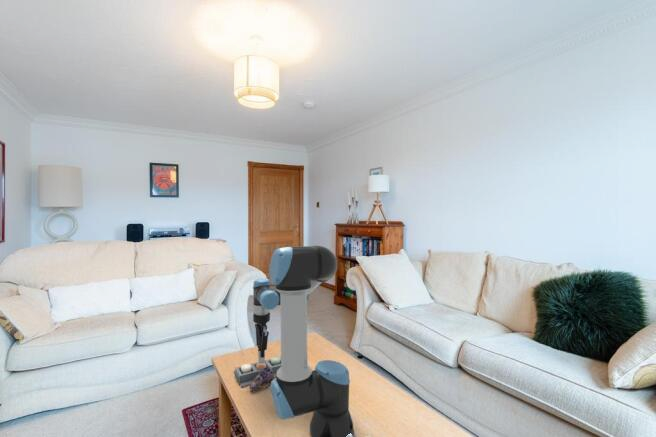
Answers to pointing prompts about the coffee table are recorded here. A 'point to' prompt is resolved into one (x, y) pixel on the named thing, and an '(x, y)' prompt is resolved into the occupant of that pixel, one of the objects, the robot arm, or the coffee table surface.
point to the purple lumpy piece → (262, 379)
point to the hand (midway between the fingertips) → (261, 362)
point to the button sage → (275, 361)
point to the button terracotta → (260, 366)
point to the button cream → (245, 368)
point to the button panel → (253, 373)
